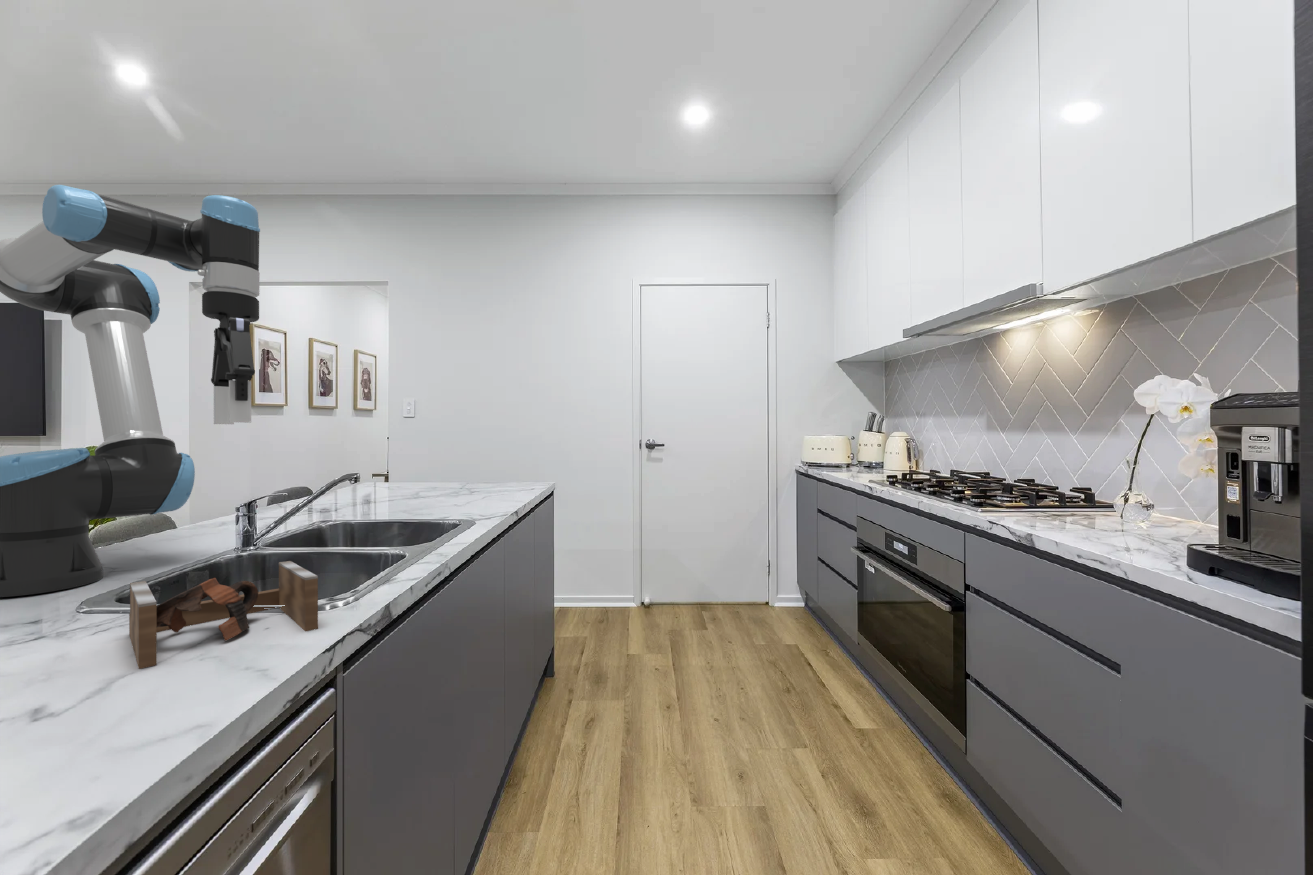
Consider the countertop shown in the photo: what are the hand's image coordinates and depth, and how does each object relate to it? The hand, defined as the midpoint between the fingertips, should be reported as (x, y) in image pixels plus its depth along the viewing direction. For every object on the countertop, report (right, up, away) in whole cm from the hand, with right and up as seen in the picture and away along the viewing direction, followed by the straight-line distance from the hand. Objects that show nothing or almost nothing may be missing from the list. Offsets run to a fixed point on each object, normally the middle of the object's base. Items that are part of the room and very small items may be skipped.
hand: (231, 423), depth 92 cm
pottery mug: (+13, -30, -17) cm, 36 cm away
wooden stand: (+13, -29, -17) cm, 36 cm away
